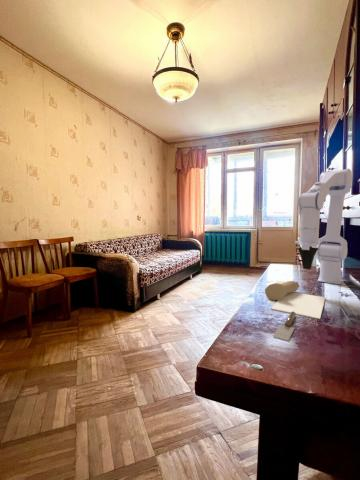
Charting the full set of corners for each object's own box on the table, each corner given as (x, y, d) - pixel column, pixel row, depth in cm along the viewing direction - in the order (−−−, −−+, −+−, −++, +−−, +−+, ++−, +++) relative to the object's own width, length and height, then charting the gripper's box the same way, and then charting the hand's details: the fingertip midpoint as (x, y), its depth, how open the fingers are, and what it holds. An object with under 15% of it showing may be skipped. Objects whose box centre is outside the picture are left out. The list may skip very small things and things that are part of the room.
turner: (287, 314, 65) (287, 310, 65) (299, 317, 64) (299, 312, 64) (273, 337, 53) (273, 332, 53) (288, 341, 51) (288, 335, 51)
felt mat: (285, 291, 86) (285, 290, 86) (325, 298, 79) (325, 297, 79) (270, 309, 69) (270, 308, 69) (320, 319, 62) (320, 318, 62)
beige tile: (276, 283, 99) (276, 280, 99) (292, 284, 97) (292, 282, 97) (276, 287, 93) (276, 284, 93) (294, 289, 91) (294, 286, 91)
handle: (284, 281, 89) (262, 287, 79) (300, 275, 85) (280, 281, 75) (289, 294, 88) (268, 301, 78) (306, 289, 84) (287, 297, 73)
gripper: (299, 227, 91) (297, 264, 92) (292, 229, 79) (290, 271, 80) (321, 228, 87) (319, 266, 88) (317, 230, 75) (315, 274, 76)
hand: (307, 268), depth 84 cm, fingers closed
